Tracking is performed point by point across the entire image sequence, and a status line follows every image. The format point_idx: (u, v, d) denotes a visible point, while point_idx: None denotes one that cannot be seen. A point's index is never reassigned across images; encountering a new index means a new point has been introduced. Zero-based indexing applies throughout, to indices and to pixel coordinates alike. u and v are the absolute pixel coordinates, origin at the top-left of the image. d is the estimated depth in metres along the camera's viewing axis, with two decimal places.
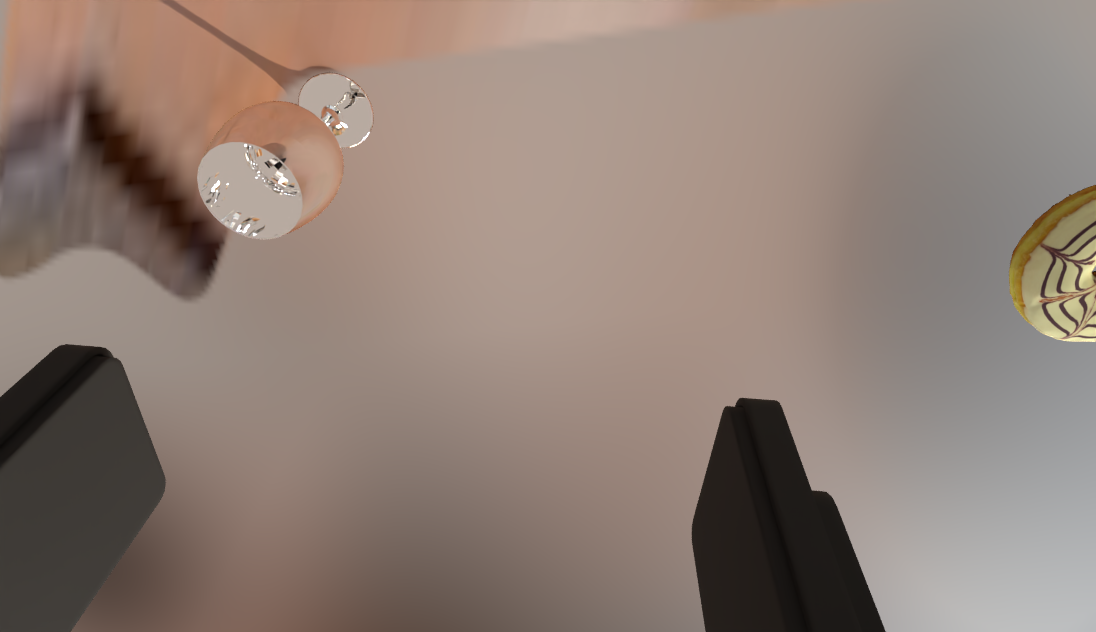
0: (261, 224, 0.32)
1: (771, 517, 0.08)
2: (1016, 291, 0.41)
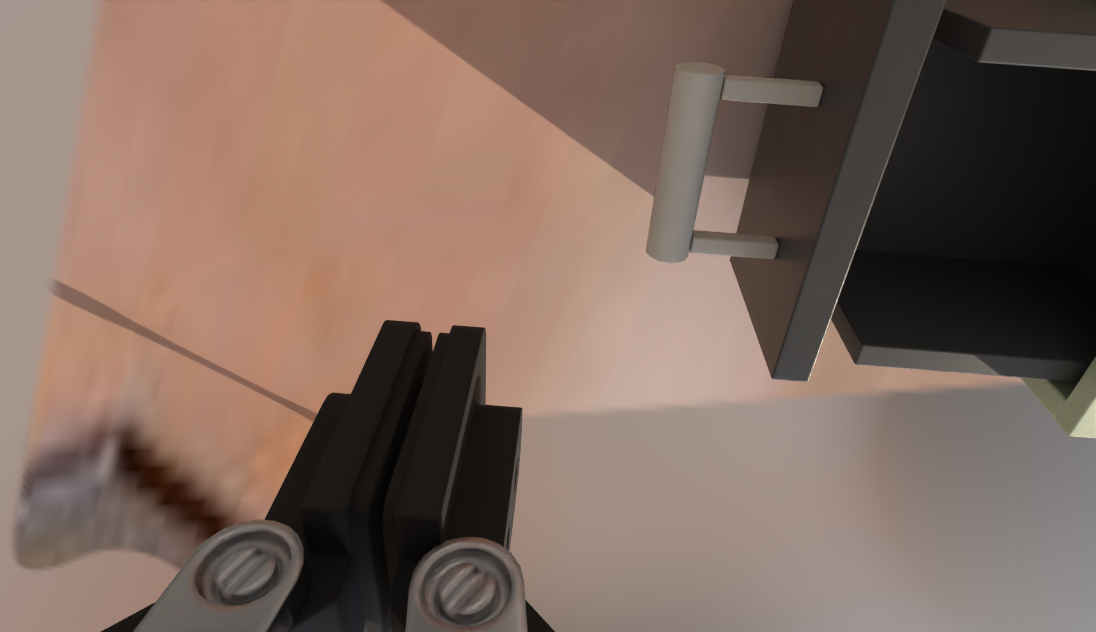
0: None
1: (423, 416, 0.09)
2: None
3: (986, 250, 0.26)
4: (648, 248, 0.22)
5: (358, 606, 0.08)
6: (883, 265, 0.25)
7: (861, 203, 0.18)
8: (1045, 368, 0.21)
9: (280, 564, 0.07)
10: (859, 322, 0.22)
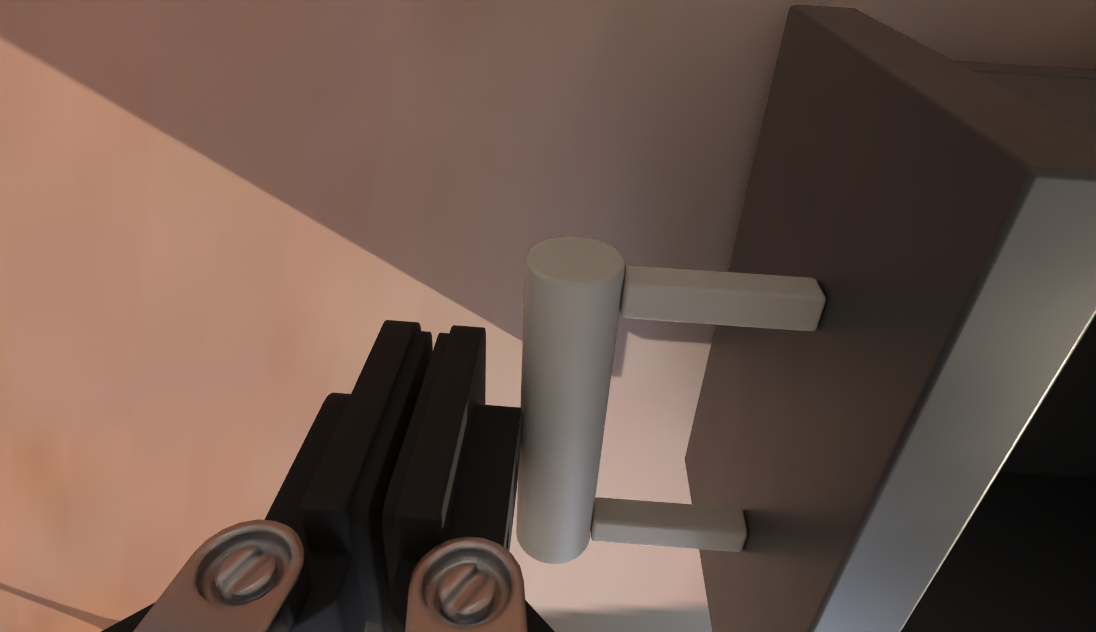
0: None
1: (422, 416, 0.09)
2: None
3: (1089, 464, 0.16)
4: (517, 532, 0.12)
5: (359, 606, 0.08)
6: None
7: (910, 573, 0.08)
8: None
9: (280, 564, 0.07)
10: None
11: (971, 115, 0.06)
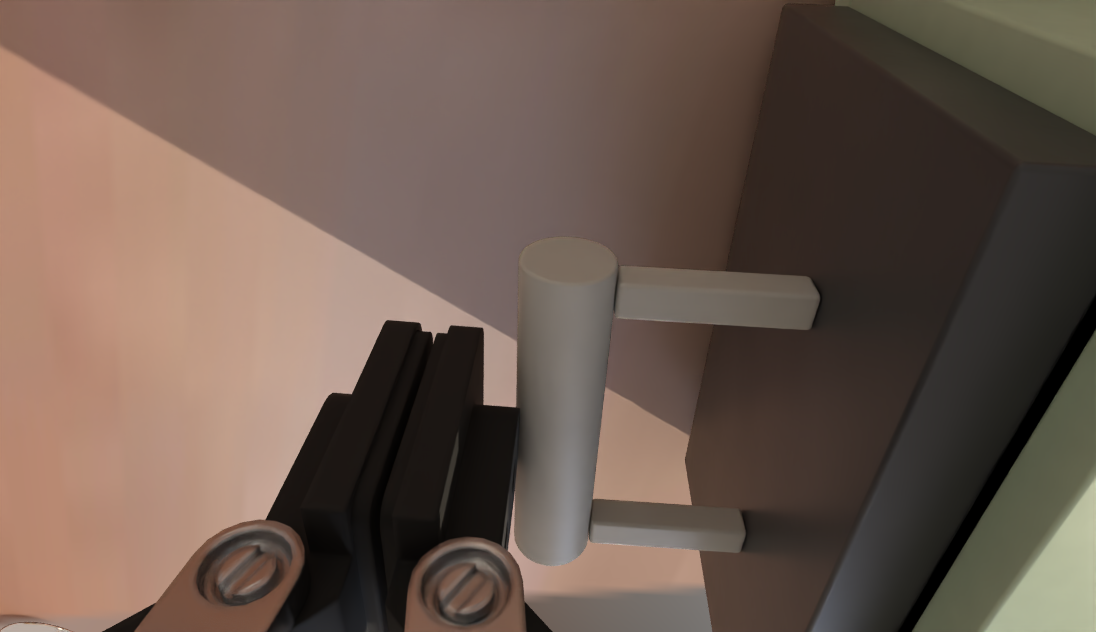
0: None
1: (420, 416, 0.09)
2: None
3: None
4: (515, 534, 0.12)
5: (359, 607, 0.08)
6: None
7: (907, 572, 0.08)
8: None
9: (281, 564, 0.07)
10: None
11: (960, 110, 0.06)
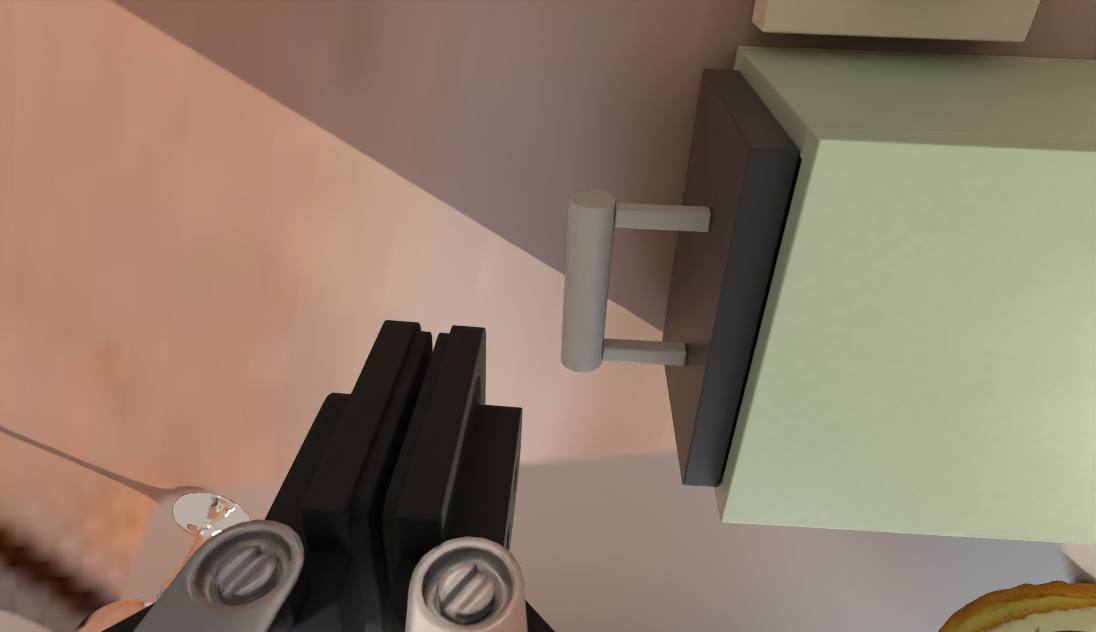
0: None
1: (422, 416, 0.09)
2: None
3: None
4: (562, 357, 0.23)
5: (359, 606, 0.08)
6: None
7: (745, 331, 0.18)
8: None
9: (280, 564, 0.07)
10: None
11: (745, 128, 0.17)
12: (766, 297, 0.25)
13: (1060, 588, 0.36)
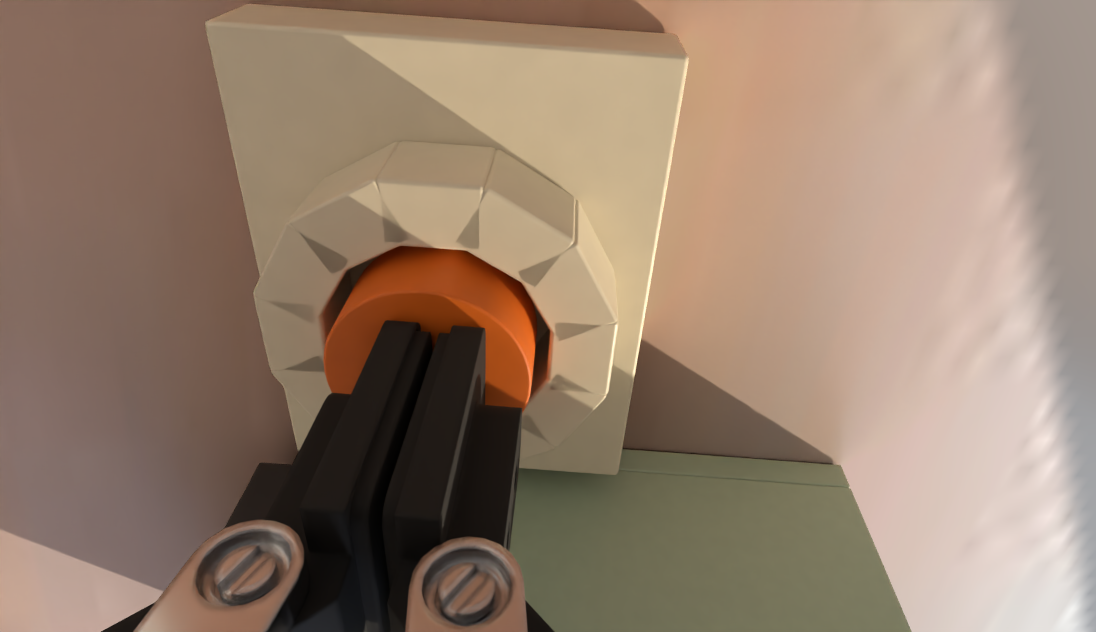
0: None
1: (422, 416, 0.09)
2: None
3: None
4: None
5: (359, 606, 0.08)
6: None
7: None
8: None
9: (280, 564, 0.07)
10: None
11: None
12: None
13: None
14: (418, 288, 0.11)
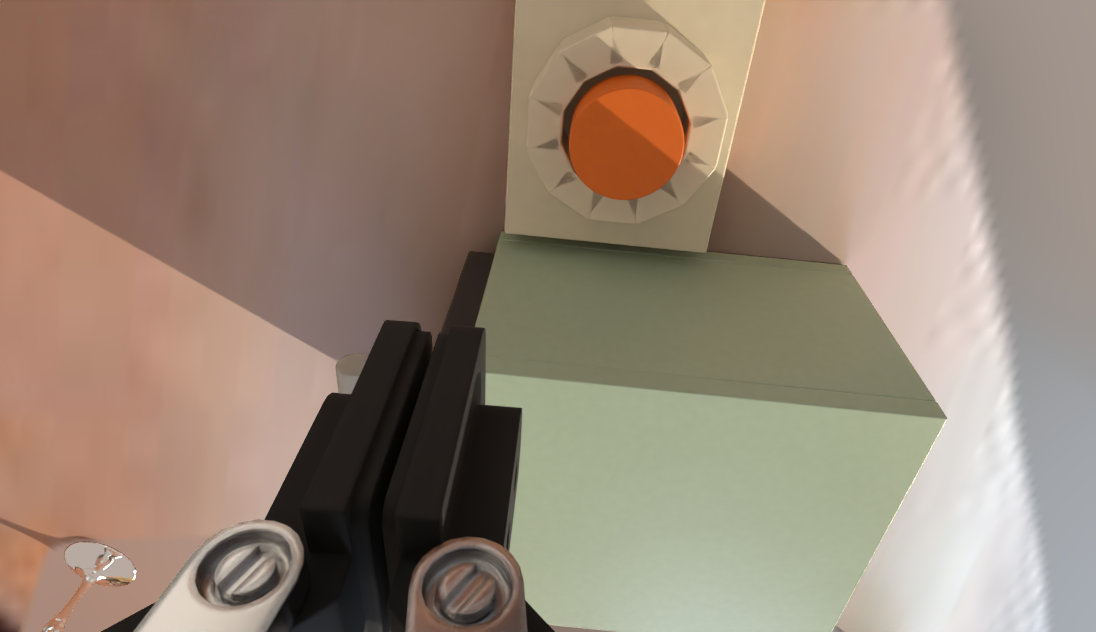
0: None
1: (422, 416, 0.09)
2: None
3: None
4: None
5: (358, 606, 0.08)
6: None
7: None
8: None
9: (280, 564, 0.07)
10: None
11: None
12: None
13: None
14: (631, 88, 0.20)
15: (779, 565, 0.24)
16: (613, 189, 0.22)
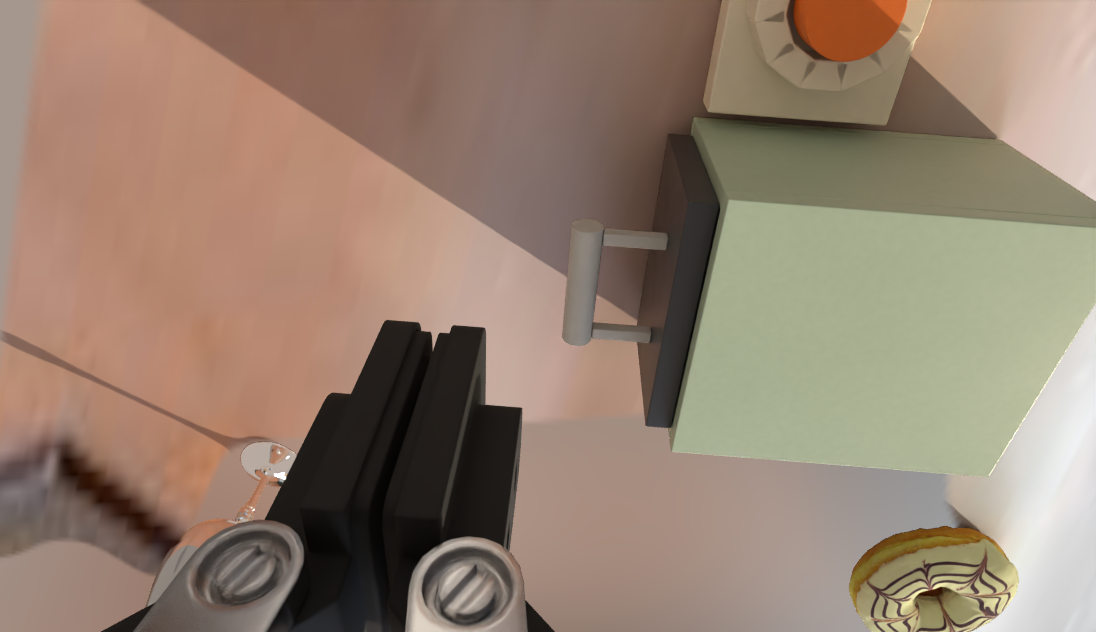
0: None
1: (422, 416, 0.09)
2: (854, 605, 0.48)
3: None
4: (563, 335, 0.32)
5: (358, 606, 0.08)
6: None
7: (687, 318, 0.28)
8: None
9: (280, 564, 0.07)
10: None
11: (688, 186, 0.26)
12: None
13: (945, 530, 0.45)
14: None
15: (968, 386, 0.28)
16: (838, 51, 0.25)
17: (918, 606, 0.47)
